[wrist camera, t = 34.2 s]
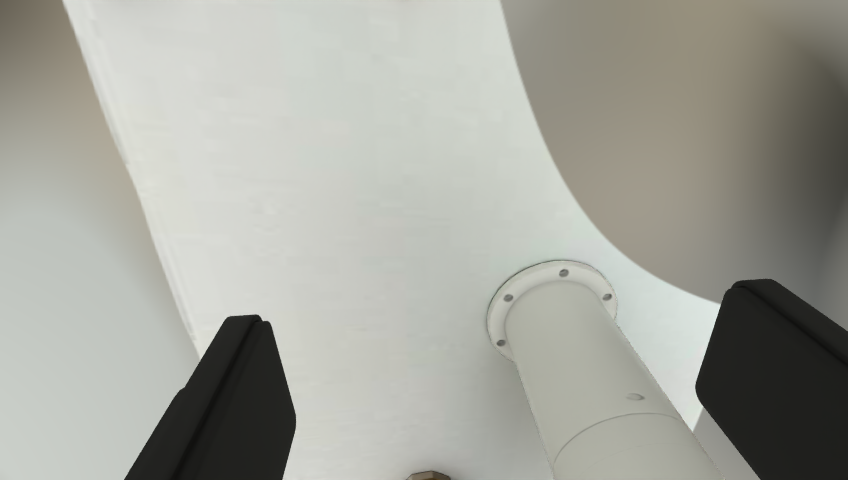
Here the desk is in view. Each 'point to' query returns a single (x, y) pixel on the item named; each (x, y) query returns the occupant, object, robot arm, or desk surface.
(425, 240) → the desk surface
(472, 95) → the desk surface
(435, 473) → the ceramic cup
